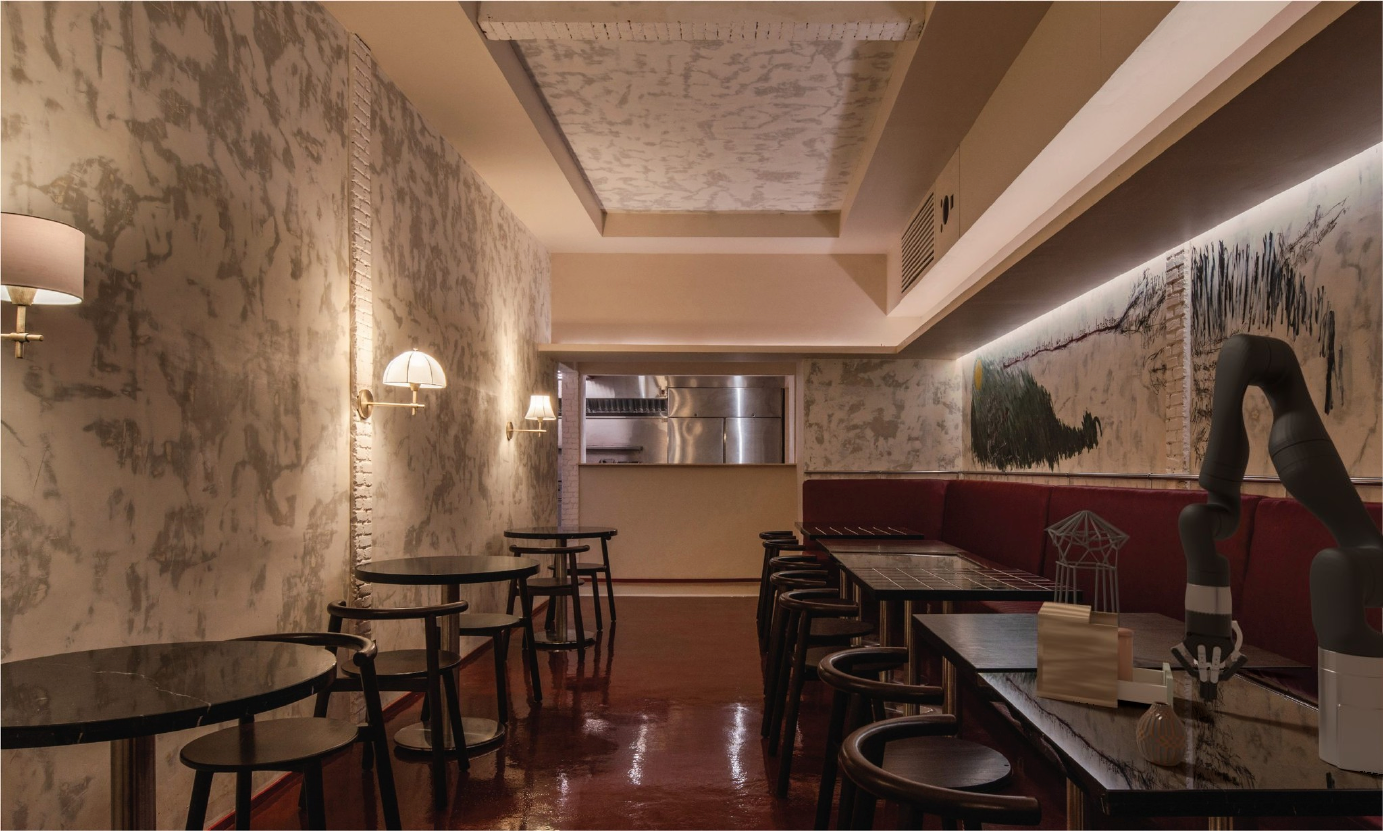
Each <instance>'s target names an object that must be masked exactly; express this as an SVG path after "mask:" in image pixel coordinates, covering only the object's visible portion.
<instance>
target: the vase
mask: <svg viewBox="0 0 1383 831" xmlns="http://www.w3.org/2000/svg"><path fill="white" fill-rule="evenodd" d="M1135 730H1136V732H1135V737H1136V744H1137V746H1138V749H1139V752H1140V753H1141V755H1142V756H1143V757H1144V758H1145V760H1147V761H1148V762H1149V763H1152V764H1155V765H1159V766H1163V767H1175V766H1177V765H1179V764H1180V763H1181V762H1182V761H1183V760H1184V759H1185V757H1186V755H1187V753H1188V749H1189V748H1188V747H1189V736H1188V732H1187V730H1186V727H1185V725H1184V723H1183V722H1182V720H1181V719H1180V718H1179V716H1178V715H1177V714H1176V712H1175V711H1174V708H1173V709H1172V706H1171V705H1170V704H1169V703H1166V702H1160V701H1155V702H1153V703H1152V704H1150V707H1149V708H1148V709H1147V710H1146V712H1145V713H1143V714H1142V716H1141V717H1140V718H1139V721H1138V722H1137V726H1136V729H1135Z"/></svg>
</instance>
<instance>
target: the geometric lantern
mask: <svg viewBox="0 0 1383 831" xmlns="http://www.w3.org/2000/svg"><path fill="white" fill-rule="evenodd" d="M1083 521H1084V530H1078V529H1079V527H1080V525H1081V524H1082V522H1083ZM1089 521H1090V522H1091V524H1092V526H1093V528H1094V530H1091V531H1089ZM1096 524H1097V525H1096ZM1098 525H1099V527H1100V528H1101V529H1102V530H1100V529H1099V528H1098ZM1061 526H1062V527H1061ZM1059 527H1060V528H1059ZM1057 528H1059V529H1057ZM1071 530H1072V531H1071ZM1112 530H1113V531H1112ZM1043 531H1045V532H1046V531H1047V532H1048V534H1049V535H1050V537H1051V539H1052V546H1055V547H1058V548H1057V549H1058V557H1059V561H1057V560H1056V561H1055V564H1056V572H1055V574H1056V575H1055V583H1054V584H1055V588H1054V598H1053V599H1054V600H1053V602H1054V603H1062V597H1063V596H1062V595H1063V589H1064V588H1063V587H1064V586H1063V585H1064V577H1065V576H1064V573H1065V567H1066V568H1067V570H1066V584H1065V598H1064V600H1065V602H1064V604H1069V603H1068V601H1069V586H1070V570H1071V569H1073V604H1074V605H1077V569H1087V570H1089V569H1090V570H1095V590H1094V592H1095V595H1094V596H1095V597H1094V611H1096V612H1098V596H1099V594H1098V593H1099V592H1098V591H1099V570H1102V589H1103V612H1106V613H1108V612H1107V609H1108V608H1107V593H1106V592H1107V590H1106V589H1107V588H1106V586H1107V585H1106V584H1107V583H1106V570H1107V571H1109V582H1110V583H1109V584H1110V585H1109V586H1110V598H1111V600H1110V601H1111V613H1117V614H1118V627H1119V628H1121V618H1120V599H1119V596H1120V595H1119V582H1118V580H1119V578H1118V576H1119V575H1118V554H1119V550H1120V549H1121V548H1122V547H1123V546H1124V545H1125V543H1126V542H1127V541H1128V540H1129V539H1130V538H1131V536H1130V535H1128V534H1126V533H1125V532H1123V531H1122V530H1120V529H1119V528H1118V527H1116V526H1115V525H1112V524H1111V523H1110V522H1108V521H1107V520H1105V519H1103V518H1102V517H1100V516H1099V515H1097V514H1096V513H1094V512H1092V511H1091V510H1084V509H1083V510H1080V511H1078V512H1076V513H1074V514H1072V515H1070V516H1069V517H1066V518H1065V519H1064V518H1063V520H1060V521H1058V522H1057V523H1054V524H1052V525H1050V526H1049V527H1047V528H1045V529H1043ZM1115 532H1116V533H1117V534H1118V535H1117V534H1116V533H1115ZM1090 534H1095V535H1093V537H1089V535H1090ZM1101 534H1106V535H1107V536H1106V537H1105V536H1104V537H1102V535H1101ZM1067 536H1068V537H1071V538H1070V539H1069V538H1068V537H1067ZM1058 537H1060V541H1059V543H1058ZM1078 537H1080V538H1082V540H1081V539H1080V538H1078ZM1097 537H1098V538H1097ZM1073 538H1074V539H1075V540H1077V542H1075V541H1073V540H1074V539H1073ZM1064 540H1066V541H1067V542H1069V544H1068V546H1067V548H1066V550H1065V552H1063V550H1062V547H1061V546H1062V544H1063V542H1064ZM1085 540H1086V541H1085ZM1104 540H1109V543H1107V544H1106V545H1104V546H1102V541H1104ZM1092 541H1097V542H1098V543H1099V544H1098V545H1099V547H1090V544H1089V543H1091V542H1092ZM1121 541H1122V542H1121ZM1120 542H1121V543H1120ZM1116 543H1117V546H1116ZM1072 545H1076V546H1077V545H1078V546H1083V547H1085V548H1086V549H1087V550H1086V552H1085V553H1084V554H1083V556H1081V558H1080V559H1079V561H1067V558H1066V556H1067V554H1068V553H1069V550H1070V549H1071V547H1072ZM1108 547H1109V550H1108V551H1107V553H1106V554H1105V552H1104V549H1107V548H1108ZM1113 549H1114V550H1115V551H1116V552H1115V554H1116V555H1115V566H1111V564H1110V563H1109V560H1108V558H1109V555H1110V554H1111V552H1112V550H1113ZM1092 551H1101V554H1102V556H1103V560H1102V563H1101V562H1100V561H1099V560H1098V558H1097V557H1096V555H1095V554H1094V552H1092ZM1089 552H1090V553H1091V555H1092V556H1093V558H1094V559H1095V560H1096V562H1093V561H1092V562H1091V561H1082V560H1083V559H1084V557H1085V556H1086V555H1087V554H1088V553H1089ZM1061 557H1062V558H1061ZM1105 563H1106V564H1105ZM1069 564H1075V565H1069ZM1079 564H1082V565H1083V564H1089V565H1095V566H1091V567H1090V566H1080V565H1079ZM1060 565H1061V574H1060V572H1059V571H1060ZM1078 565H1079V566H1078ZM1099 566H1101V567H1099ZM1070 568H1071V569H1070ZM1113 571H1114V580H1115V582H1113ZM1059 574H1060V584H1059ZM1113 583H1115V594H1114V584H1113ZM1058 586H1059V597H1058ZM1114 595H1115V596H1114ZM1057 599H1058V602H1057ZM1114 599H1115V600H1116V609H1115V600H1114ZM1115 610H1116V611H1115Z"/></svg>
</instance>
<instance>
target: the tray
mask: <svg viewBox="0 0 1383 831" xmlns="http://www.w3.org/2000/svg"><path fill="white" fill-rule="evenodd" d="M1171 670H1172V669H1171V667H1170V663H1169V662H1162V670H1157V669H1151V668H1150V669H1148V668H1140V667H1134V666H1133V682H1129V681H1122V680H1117V700H1122V701H1129V702H1136V703H1143V704H1149V705H1152V703H1153V702H1155V701H1160V702H1166V703H1169V704H1170V705H1171V706H1172V709H1173V710H1174V677H1173V674H1172V671H1171Z"/></svg>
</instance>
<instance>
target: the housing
mask: <svg viewBox="0 0 1383 831" xmlns="http://www.w3.org/2000/svg"><path fill="white" fill-rule="evenodd" d="M1036 642H1037V645H1036V646H1037V650H1036V651H1037V653H1036V654H1037V655H1036V658H1037V659H1036V661H1037V662H1036V666H1037V667H1036V697H1039V698H1046V699H1053V700H1059V701H1060V700H1061V701H1066V702H1073V701H1074V703H1079V702H1080V703H1081V704H1086V703H1088V704H1087V705H1093V704H1094V705H1095V706H1100V707H1101V706H1102V707H1109V708H1116V709H1118V699H1117V680H1118V614H1117V612H1115V613H1112V612H1107V613H1106V612H1104V611H1097V612H1096V611H1095V610H1094V611H1093V610H1092V606H1091V605H1083V604H1082V605H1081V604H1076V605H1074V603H1068V604H1065V602H1061V603H1059V602H1056V603H1054V601H1053V602H1052V601H1044V602H1043V603H1042V606H1041V607H1040V608H1039V611H1038V612H1037V641H1036Z"/></svg>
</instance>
